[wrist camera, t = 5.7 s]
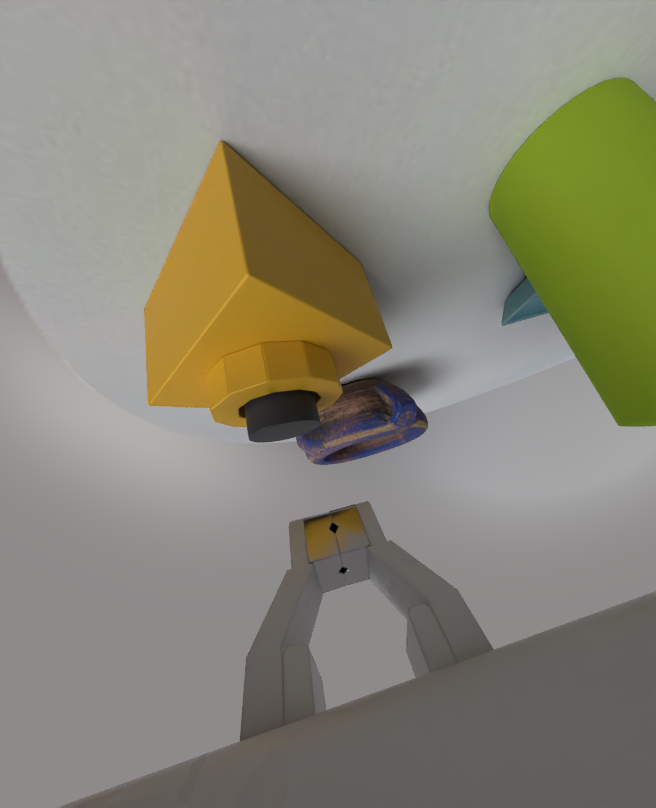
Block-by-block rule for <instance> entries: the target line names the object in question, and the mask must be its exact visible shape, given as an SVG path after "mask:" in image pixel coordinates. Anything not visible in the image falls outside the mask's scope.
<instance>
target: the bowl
mask: <svg viewBox="0 0 656 808" xmlns="http://www.w3.org/2000/svg"><path fill="white" fill-rule="evenodd" d="M342 390H343V393H342V394H341V396H340V397H339V398H338V399H337V400H336V401H335V402H334V404H332V405H330V406H328V407H326V408H324V409H322V410H321V411H319V412H318V413H319V417H320V421H321V425H320V426H319V427H318V428H316V429H315V430H313V431H311V432H308V433H306V434H303V435H300V436H297V437H296V440H297V443H298V446H299V447H300V448H301V449H302V450H304V451H305V453H306V456H307V458H308V459H309V460H310V461H311V462H312V463H314V464H320V465H328V464H337V463H343V462H347V461H352V460H356V459H359V458H363V457H367V456H370V455H373V454H376V453H379V452H383V451H386V450H389V449H391V448H395V447H397V446H400V445H402V444H405V443H407V442H409V441H411V440H414V439H415V438H417V437H419V436H420V435H422V434H423V433H424V432H425V431H426V430H427V428H428V421H427V418H426V416H425V414H424V413H423V412H422V410H421V409H420V408H419V407H418V406H417V405H416V403H415V401H414V400H413V399H412V398H411V397H410V396H409V395H408V394H407V393H406V392H405V391H404V390H403V389H401V388H399V387H397V386H395V385H393V384H390V383H386V382H382V381H379V380H375V379H371V380H362V381H358V382H355V383H351V384H348V385H345V386H342Z"/></svg>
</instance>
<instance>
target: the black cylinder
mask: <svg viewBox="0 0 656 808" xmlns="http://www.w3.org/2000/svg"><path fill="white" fill-rule="evenodd" d="M244 411H245V417H246V424H247V430H248V436H249V440H250V441H253V442H273V441H279V440H285V439H289V438H293V437H297V436H300V435H303V434H306V433H308V432H311V431H313V430H315V429H316V428H318V427H319V426H320V425H321V421H320V417H319V413H318V409H317V405H316V401H315V398H314V394H313V391H308V390H301V389H298V390H290V391H281V392H273V393H270V394H267V395H264V396H261V397H258V398H255V399H252V400H250V401H249V402H247V403H246V404H244Z"/></svg>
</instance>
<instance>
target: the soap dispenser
mask: <svg viewBox="0 0 656 808" xmlns="http://www.w3.org/2000/svg"><path fill="white" fill-rule="evenodd" d="M489 215H490V217H491V219H492V221H493V223H494V224H495V226H496V228H497V229H498V231H499V232H500V234H501V236H502V237H503V239H504V241H505V242H506V244H507V245H508V247H509V249H510V250H511V252H512V254H513V255H514V257H515V258H516V260H517V262H518V263H519V265H520V267H521V268H522V270H523V271H524V273H525V275H526V276H527V278H528V280H529V281H530V283H531V284H532V286H533V288H534V289H535V291H536V293H537V294H538V296H539V297H540V299H541V301H542V302H543V304H544V306H545V307H546V309H547V310H548V312H549V314H550V315H551V317H552V319H553V320H554V322H555V323H556V325H557V327H558V328H559V330H560V332H561V333H562V335H563V336H564V338H565V340H566V341H567V343H568V345H569V346H570V348H571V349H572V351H573V353H574V354H575V356H576V358H577V359H578V361H579V362H580V364H581V366H582V367H583V369H584V370H585V372H586V374H587V375H588V377H589V379H590V380H591V382H592V384H593V385H594V387H595V388H596V390H597V392H598V393H599V395H600V397H601V398H602V400H603V401H604V403H605V405H606V406H607V408H608V410H609V411H610V413H611V414H612V416H613V418H614V419H615V421H616V423H617V424H618V425H619V426H656V102H655V101H654V100H653V99H652V98H651V97H650V96H649V95H648V94H647V93H646V92H644V91H643V90H642V89H641V88H640V87H639V86H638V85H637V84H636V83H635V82H633V81H632V80H630V79H627V78H615V79H610V80H607V81H604V82H602V83H599V84H597V85H595V86H593V87H591V88H589V89H587V90H586V91H584V92H582V93H581V94H579V95H578V96H576V97H575V98H573V99H572V100H570V101H569V102H568V103H566V104H565V105H564V106H563V107H561V108H560V109H559V110H558V111H556V112H555V113H554V114H553V115H552V116H551V117H549V118H548V119H547V120H546V121H545V122H544V123H543V124H542V125H541V126H540V127H539V128H538V129H537V130H536V131H535V132H534V133H533V134H532V135H531V136H530V137H529V138H528V139H527V141H526V142H525V143H524V144H523V145H522V146H521V148H520V149H519V150H518V151H517V152H516V154H515V155H514V156H513V158H512V159H511V160H510V162H509V163H508V165H507V166H506V168H505V169H504V171H503V173H502V174H501V176H500V178H499V180H498V181H497V183H496V185H495V188H494V190H493V193H492V195H491V199H490V203H489Z"/></svg>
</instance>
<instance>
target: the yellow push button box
mask: <svg viewBox="0 0 656 808" xmlns="http://www.w3.org/2000/svg"><path fill="white" fill-rule="evenodd" d="M144 317H145V342H146V366H147V391H148V405H150V406H172V407H195V408H210V411H211V414H212V416H213V419H214V421H215V422H218V423H222V424H226V425H229V426H233V427H247V424H246V417H245V411H244V404H246V403H247V402H249V401H250V400H252V399H255V398H258V397H261V396H264V395H267V394H270V393H273V392H281V391H290V390H298V389H301V390H308V391H313V394H314V398H315V401H316V405H317V409H318V412H319V411H321V410H322V409H324V408H326V407H328V406H330V405H332V404H334V402H335V401H336V400H337V399H338V398H339V397H340V396H341V394H342V393H343V390H342V386H341V383H340V378H342V377H344V376H345V375H347V374H349V373H351V372H352V371H354V370H356V369H357V368H359V367H361V366H363V365H364V364H366V363H368V362H369V361H371V360H373V359H374V358H376V357H378V356H380V355H381V354H383V353H385V352H386V351H388V350H390V349H392V344H391V341H390V339H389V336H388V333H387V331H386V328H385V326H384V323H383V320H382V318H381V315H380V312H379V310H378V307H377V304H376V302H375V299H374V296H373V294H372V291H371V288H370V286H369V283H368V280H367V278H366V275H365V272H364V270H363V267H362V264H361V263H360V262H359V261H358V260H357V259H356V258H354V257H353V256H352V255H351V254H350V253H349V252H348V251H346V250H345V249H344V248H343V247H342V246H341V245H340V244H339V243H337V242H336V241H335V240H334V239H333V238H332V237H331V236H330V235H328V234H327V233H326V232H325V231H324V230H323V229H322V228H321V227H319V226H318V225H317V224H316V223H315V222H314V221H313V220H311V219H310V218H309V217H308V216H307V215H306V214H305V213H304V212H302V211H301V210H300V209H299V208H298V207H297V206H296V205H295V204H293V203H292V202H291V201H290V200H289V199H288V198H287V197H286V196H284V195H283V194H282V193H281V192H280V191H279V190H278V189H277V188H275V187H274V186H273V185H272V184H271V183H270V182H269V181H267V180H266V179H265V178H264V177H263V176H262V175H261V174H260V173H258V172H257V171H256V170H255V169H254V168H253V167H252V166H251V165H249V164H248V163H247V162H246V161H245V160H244V159H243V158H242V157H240V156H239V155H238V154H237V153H236V152H235V151H234V150H233V149H231V148H230V147H229V146H228V145H227V144H226V143H225V142H223V141H222V140H221V141H220V142H219V144H218V147H217V149H216V151H215V153H214V155H213V158H212V160H211V162H210V164H209V167H208V169H207V171H206V173H205V175H204V178H203V180H202V182H201V184H200V187H199V189H198V191H197V193H196V195H195V198H194V200H193V202H192V204H191V207H190V209H189V211H188V213H187V215H186V218H185V220H184V222H183V224H182V227H181V229H180V231H179V233H178V235H177V238H176V240H175V242H174V244H173V246H172V249H171V251H170V253H169V255H168V258H167V260H166V262H165V264H164V266H163V269H162V271H161V273H160V275H159V278H158V280H157V282H156V284H155V286H154V289H153V291H152V293H151V295H150V298H149V300H148V302H147V304H146V306H145V309H144Z"/></svg>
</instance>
